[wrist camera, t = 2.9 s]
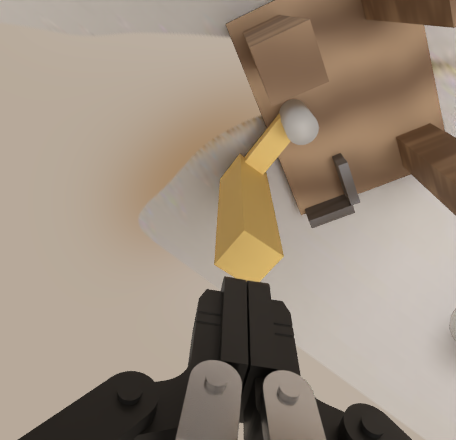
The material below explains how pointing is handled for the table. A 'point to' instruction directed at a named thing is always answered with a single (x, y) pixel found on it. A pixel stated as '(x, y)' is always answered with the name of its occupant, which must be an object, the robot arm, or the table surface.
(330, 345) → the table surface
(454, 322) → the french press
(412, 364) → the table surface
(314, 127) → the hinged leg
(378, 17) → the wooden pillar stand
